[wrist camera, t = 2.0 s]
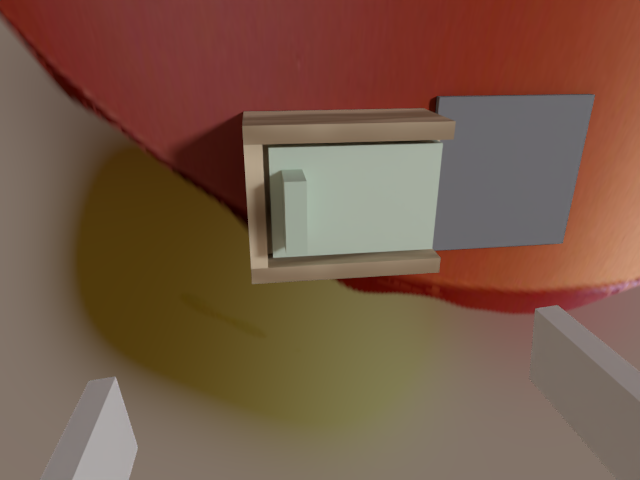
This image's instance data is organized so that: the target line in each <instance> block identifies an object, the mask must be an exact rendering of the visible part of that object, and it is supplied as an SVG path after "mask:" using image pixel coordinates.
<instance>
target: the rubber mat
mask: <svg viewBox="0 0 640 480" xmlns="http://www.w3.org/2000/svg"><path fill="white" fill-rule="evenodd" d="M594 97H595V95H593V94H560V95H492V96H437V101H436V112H435V113H436V114H439V115H441V116H444V117H446V118H449V119H451V120H454V121H456V124H455V133H454V139H453V140H440V142H442V143H443V148H442V158H441V168H440V178H439V188H438V197H437V207H436V217H435V227H434V237H433V246H432V249H433V250H434V251H436V250H454V249H471V248H489V247H507V246H524V245H542V244H560V243H563V239H564V235H565V230H566V225H567V221H568V216H569V212H570V207H571V202H572V198H573V193H574V189H575V184H576V180H577V175H578V170H579V166H580V161H581V157H582V152H583V148H584V143H585V138H586V134H587V129H588V125H589V120H590V115H591V111H592V106H593V102H594Z"/></svg>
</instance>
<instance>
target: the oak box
mask: <svg viewBox="0 0 640 480" xmlns="http://www.w3.org/2000/svg"><path fill="white" fill-rule="evenodd" d="M455 124H456V121H454V120H451V119H449V118H446V117H444V116H441V115H439V114H436V113H434V112H431V111H429V110H426V109H424V108H418V109H362V110H306V111H250V112H243V123H242V131H243V147H244V163H245V179H246V195H247V211H248V227H249V243H250V258H251V274H252V284H260V283H276V282H292V281H308V280H324V279H341V278H357V277H373V276H389V275H405V274H421V273H437V272H439V268H440V259H441V258H440V257H439V255H438V254H437V253H436V252H435V251H434V250H433V249H423V250H405V251H388V252H370V253H352V254H334V255H316V256H298V257H280V258H273V252H272V234H271V210H270V186H269V163H268V144H302V143H340V142H378V141H415V140H438V141H440V140H453V139H454V133H455Z"/></svg>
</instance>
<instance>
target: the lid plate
mask: <svg viewBox="0 0 640 480" xmlns="http://www.w3.org/2000/svg"><path fill="white" fill-rule="evenodd" d="M442 148H443V143H442V142H440V141H438V140H415V141H378V142H340V143H302V144H268V163H269V186H270V210H271V234H272V252H273V258H280V257H298V256H316V255H334V254H352V253H370V252H388V251H405V250H423V249H432V246H433V237H434V227H435V217H436V207H437V197H438V188H439V178H440V168H441V158H442Z"/></svg>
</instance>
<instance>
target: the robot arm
mask: <svg viewBox="0 0 640 480" xmlns="http://www.w3.org/2000/svg"><path fill="white" fill-rule="evenodd" d="M529 379H530V380H531V381H532V382H533V384H534V385H535V386H536V387H537V388H538V389H539V391H541V393H542V394H543V395H544V396H545V398H546V399H547V400H548V401H549V402H550V403H551V404H552V406H553V407H554V408H555V409H556V410H557V411H558V412H559V413H560V415H561V416H562V417H563V418H564V419H565V421H566V422H567V423H568V424H569V425H570V426H571V427H572V429H573V430H574V431H575V432H576V433H577V434H578V436H579V437H580V438H581V439H582V440H583V441H584V443H585V444H586V445H587V446H588V447H589V448H590V449H591V451H592V452H593V453H594V454H595V455H596V457H597V458H599V460H600V461H601V462H602V463H603V465H604V466H605V467H606V468H607V469H608V470H609V472H610V473H611V474H612V475H613V476H614V477H615V478H616V480H640V372H639V371H638V370H637V369H636V368H634V367H633V366H632V365H631V364H630V363H628V362H627V361H626V360H625V359H623V358H622V357H621V356H620V355H618V354H617V353H616V352H615V351H614V350H612V349H611V348H610V347H609V346H607V345H606V344H605V343H604V342H602V341H601V340H600V339H599V338H598V337H596V336H595V335H594V334H592V333H591V332H590V331H589V330H587V329H586V328H585V327H584V326H583V325H581V324H580V323H579V322H578V321H577V320H575V319H574V318H573V317H572V316H570V315H569V314H568V313H567V312H565V311H564V310H563V309H562V308H560V307H559V306H558V305H556V306H549V307H543V308H537V309H535V318H534V329H533V341H532V353H531V364H530V376H529ZM137 449H138V446H137V443H136V440H135V437H134V433H133V430H132V427H131V424H130V421H129V418H128V414H127V412H126V408H125V405H124V402H123V398H122V395H121V392H120V389H119V386H118V383H117V380H116V377H110V378H104V379H97V380H91V381H89V382H88V384H87V386H86V388H85V390H84V392H83V394H82V396H81V398H80V400H79V402H78V404H77V406H76V408H75V410H74V412H73V414H72V416H71V418H70V420H69V422H68V424H67V426H66V428H65V430H64V432H63V434H62V436H61V438H60V440H59V442H58V444H57V446H56V448H55V450H54V452H53V455H52V456H51V458H50V460H49V462H48V464H47V466H46V468H45V471H44V472H43V474H42V476H41V478H40V480H129V477H130V473H131V470H132V466H133V463H134V459H135V456H136V452H137Z"/></svg>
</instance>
